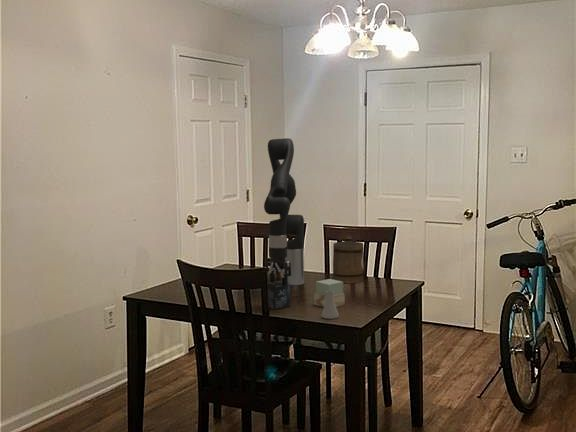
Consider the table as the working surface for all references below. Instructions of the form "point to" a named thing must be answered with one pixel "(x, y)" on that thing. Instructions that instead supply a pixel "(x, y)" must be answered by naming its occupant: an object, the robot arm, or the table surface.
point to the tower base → (321, 300)
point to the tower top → (329, 287)
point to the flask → (330, 307)
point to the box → (278, 295)
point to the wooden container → (348, 261)
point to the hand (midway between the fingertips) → (278, 284)
